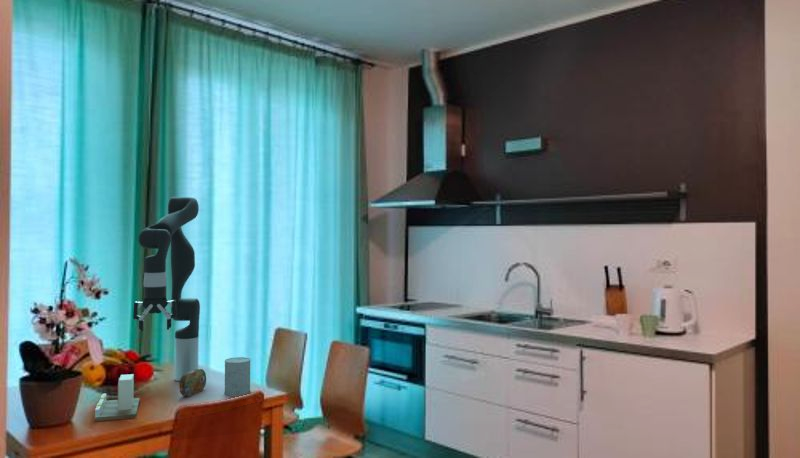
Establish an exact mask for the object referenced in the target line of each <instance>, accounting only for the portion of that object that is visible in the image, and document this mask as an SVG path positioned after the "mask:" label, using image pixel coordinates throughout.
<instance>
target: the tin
mask: <svg viewBox="0 0 800 458" xmlns="http://www.w3.org/2000/svg"><path fill="white" fill-rule="evenodd" d="M206 384H207V374H206V372H205V370H204V369H202V368H200V369H199V368H198V369H196V370H193V371H191V372H189V373H186V374H184V375H183V376H182V377H181V379H180V381H179V393H180V396H181V395H182V396H183V397H193V396H194V395H196V394H199V393H200V392H202V391H203V390H204V388H205V386H206Z"/></svg>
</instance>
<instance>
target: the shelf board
mask: <svg viewBox="0 0 800 458" xmlns="http://www.w3.org/2000/svg"><path fill="white" fill-rule="evenodd" d="M140 400H141V398H140V397H134V400H133V406H132V409H129V410H118V399H110V400H106V403H105V405H104V407H103V410H102V412H101V414H100V416H99V417H97V418H95V417H94V422H103V421H114V420H124V419H135V418H134V417H136V418H137V415H138V410H139V407H140V402H141V401H140Z"/></svg>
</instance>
